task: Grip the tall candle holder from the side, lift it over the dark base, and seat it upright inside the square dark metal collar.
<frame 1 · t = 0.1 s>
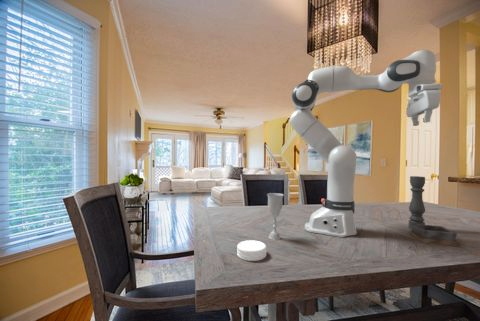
hand: (421, 124, 94), 48 cm above the table, tool pointing down, fingers open, 8 cm apart
socket base: (433, 239, 93), on the table
candle holder: (416, 229, 108), on the table
chalice: (274, 238, 93), on the table
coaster: (251, 255, 76), on the table
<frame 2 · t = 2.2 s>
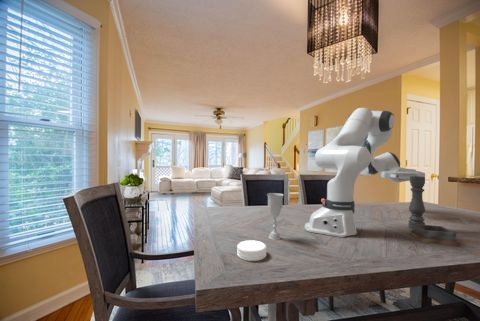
hand: (407, 176, 119), 24 cm above the table, tool horizontal, fingers open, 8 cm apart
nothing on the table moved.
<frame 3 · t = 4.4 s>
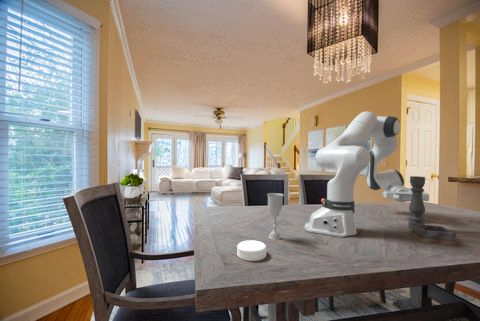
hand: (410, 197, 114), 14 cm above the table, tool horizontal, fingers open, 8 cm apart
nothing on the table moved.
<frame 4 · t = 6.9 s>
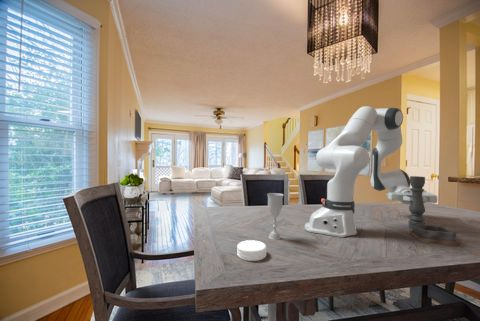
hand: (417, 199, 107), 14 cm above the table, tool horizontal, fingers closed on candle holder, 4 cm apart
candle holder: (416, 229, 108), on the table, touching gripper
everything else where it was.
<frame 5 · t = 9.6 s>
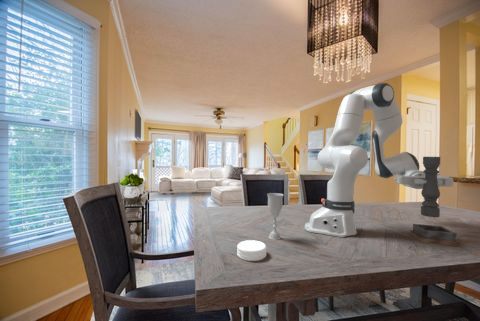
hand: (432, 182, 94), 24 cm above the table, tool horizontal, fingers closed on candle holder, 4 cm apart
candle holder: (429, 215, 95), point 9 cm above the table, touching gripper
everything else where it was.
when the fingers open (16 cm above the table, at t = 12.5 s): candle holder stays where it is, resting on socket base.
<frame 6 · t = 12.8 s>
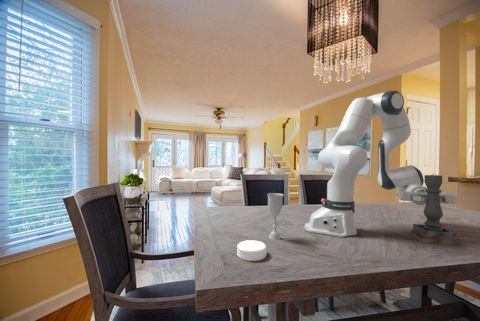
hand: (434, 200, 92), 16 cm above the table, tool horizontal, fingers open, 7 cm apart
candle holder: (432, 235, 93), point 1 cm above the table, touching socket base
everything else where it was.
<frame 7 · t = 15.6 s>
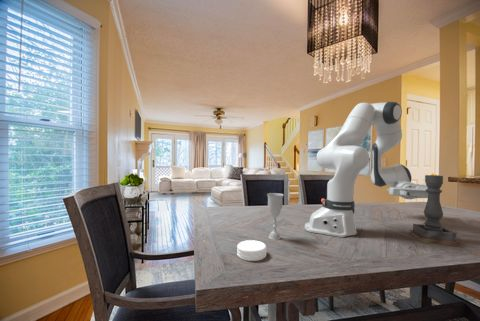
hand: (419, 194, 105), 17 cm above the table, tool horizontal, fingers open, 8 cm apart
nothing on the table moved.
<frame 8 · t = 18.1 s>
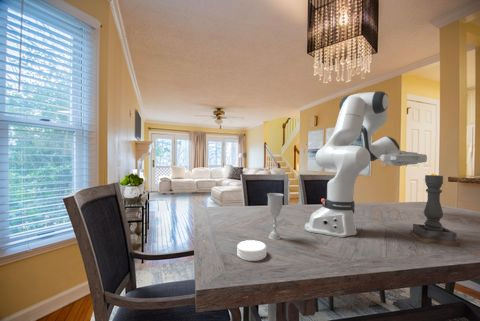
hand: (408, 158, 113), 34 cm above the table, tool horizontal, fingers open, 8 cm apart
nothing on the table moved.
at the end: candle holder 0.1 cm off-centre on the socket base, point 1.3 cm above the socket base's base; candle holder tilted 0°; the gripper is holding nothing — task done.
